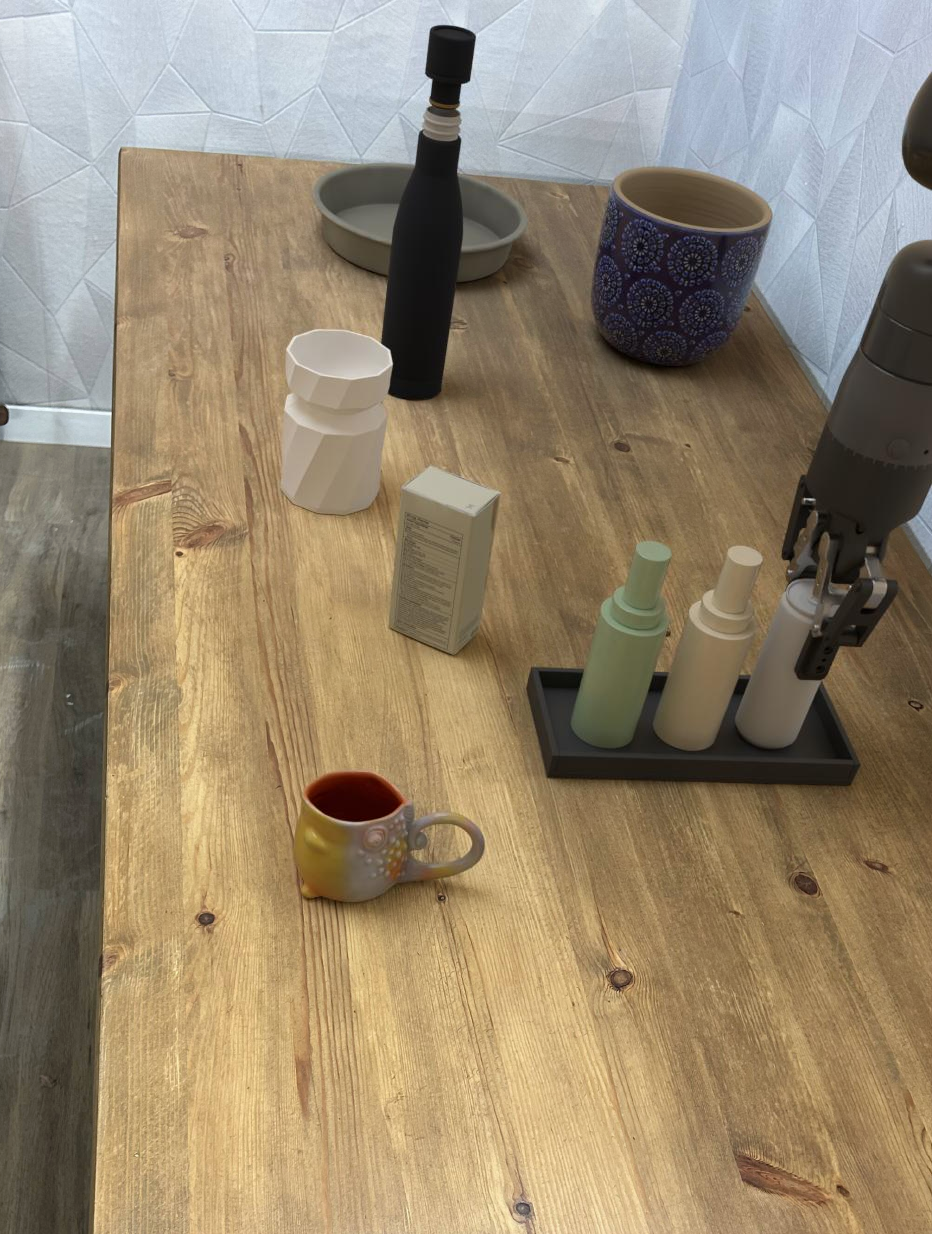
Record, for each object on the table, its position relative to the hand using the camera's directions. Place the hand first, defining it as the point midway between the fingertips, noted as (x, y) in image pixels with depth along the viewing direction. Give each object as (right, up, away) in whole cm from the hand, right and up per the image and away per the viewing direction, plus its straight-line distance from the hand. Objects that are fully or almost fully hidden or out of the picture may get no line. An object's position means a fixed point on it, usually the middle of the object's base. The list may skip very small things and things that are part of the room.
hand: (797, 652), depth 96 cm
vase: (-35, +19, +22) cm, 45 cm away
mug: (-29, -16, -8) cm, 35 cm away
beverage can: (-1, -5, +6) cm, 8 cm away
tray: (-7, -5, +5) cm, 10 cm away
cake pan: (-27, +59, +60) cm, 88 cm away
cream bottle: (-7, -5, +4) cm, 10 cm away
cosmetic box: (-26, +4, +10) cm, 28 cm away
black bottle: (-28, +34, +37) cm, 57 cm away
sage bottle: (-13, -5, +3) cm, 15 cm away
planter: (-1, +43, +50) cm, 66 cm away
